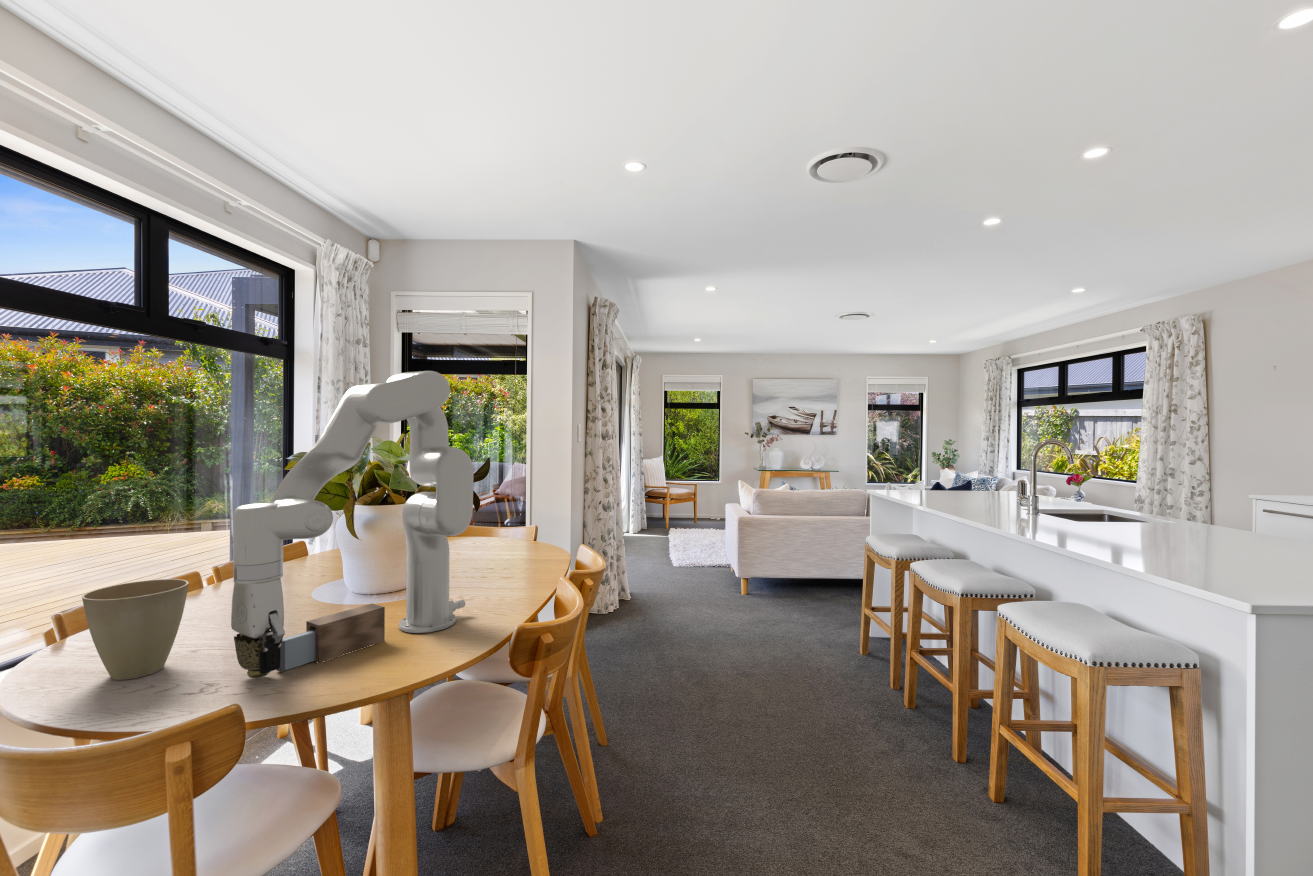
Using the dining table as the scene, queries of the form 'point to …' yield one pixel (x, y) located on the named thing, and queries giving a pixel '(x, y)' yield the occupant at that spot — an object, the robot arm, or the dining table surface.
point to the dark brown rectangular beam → (348, 631)
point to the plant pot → (135, 624)
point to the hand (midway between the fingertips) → (259, 665)
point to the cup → (249, 654)
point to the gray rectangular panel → (297, 650)
